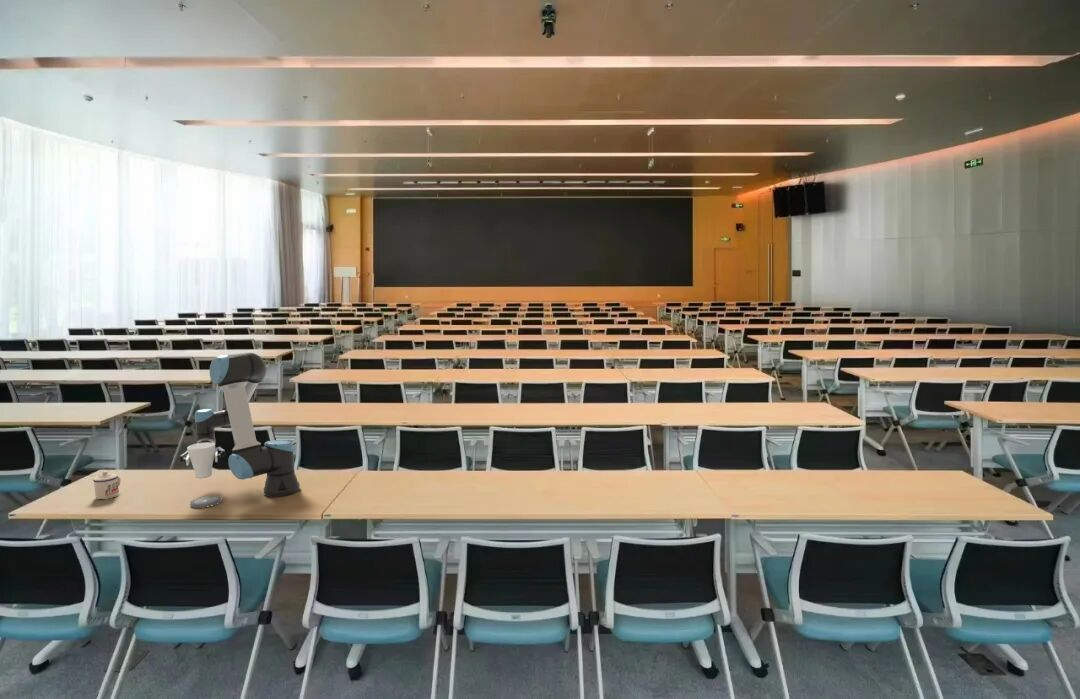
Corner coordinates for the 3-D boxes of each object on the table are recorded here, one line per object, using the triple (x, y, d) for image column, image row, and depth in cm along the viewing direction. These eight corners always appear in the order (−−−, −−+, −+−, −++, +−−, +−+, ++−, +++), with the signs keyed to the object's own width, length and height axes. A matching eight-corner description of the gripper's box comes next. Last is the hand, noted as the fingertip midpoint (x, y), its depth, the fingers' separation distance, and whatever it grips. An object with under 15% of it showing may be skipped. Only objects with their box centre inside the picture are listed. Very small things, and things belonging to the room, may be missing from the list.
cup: (190, 474, 269) (187, 444, 267) (217, 470, 274) (214, 441, 272) (189, 481, 260) (187, 450, 258) (217, 477, 265) (215, 446, 263)
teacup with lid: (108, 500, 274) (105, 475, 272) (89, 499, 275) (87, 474, 274) (129, 491, 285) (127, 466, 284) (112, 490, 287) (109, 466, 285)
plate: (228, 499, 272) (227, 497, 271) (204, 509, 260) (204, 506, 260) (207, 496, 276) (207, 494, 276) (183, 506, 265) (183, 503, 264)
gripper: (233, 452, 287) (232, 465, 267) (176, 459, 278) (171, 473, 258) (232, 436, 287) (230, 448, 267) (175, 443, 277) (169, 455, 257)
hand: (201, 460), depth 262 cm, fingers closed on cup, 10 cm apart
